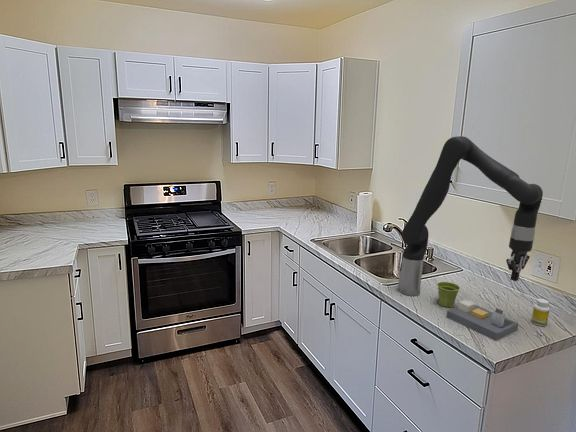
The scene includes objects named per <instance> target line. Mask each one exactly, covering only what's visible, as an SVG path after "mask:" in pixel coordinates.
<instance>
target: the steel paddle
mask: <svg viewBox="0 0 576 432" xmlns="http://www.w3.org/2000/svg"><path fill="white" fill-rule="evenodd" d="M491 312H492V318H491V323H492V324H495V325H497V326H499V327H503V325H504V319H505V318H506V314H505V313H503V312H504V310H502V309H500V308H498V307H496V308H495V309H494V310H492V311H491Z"/></svg>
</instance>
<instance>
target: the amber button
mask: <svg viewBox="0 0 576 432" xmlns="http://www.w3.org/2000/svg"><path fill="white" fill-rule="evenodd" d="M488 314H489V313H488V312H486V311H483V310H481V309H479V308H478V309H475V310H473V311H472V312H471V315H472V316H474V317H477V318H479V319H481V320H483V319H485V318H487V317H488Z"/></svg>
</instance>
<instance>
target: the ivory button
mask: <svg viewBox="0 0 576 432" xmlns="http://www.w3.org/2000/svg"><path fill="white" fill-rule="evenodd" d="M475 305H476V304H475V303H474V302H471V301H470V300H467V299H463V300H460V301H458V304H457V307H458V309H459V310H461V311H463V312H465V313H471V312H472V311H473V310H474V308H475Z"/></svg>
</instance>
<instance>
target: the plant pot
mask: <svg viewBox="0 0 576 432" xmlns="http://www.w3.org/2000/svg"><path fill="white" fill-rule="evenodd" d="M436 286H437V289H438V290H437V291H438V304H439V305H440V306H442V307H447V308H452V307H454V305H455V302H456V299H457V294H458V293H459V291H460V290H461V287H460V285H458V284H457V283H454V282H449V281H440V282H438V283H437V284H436Z"/></svg>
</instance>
